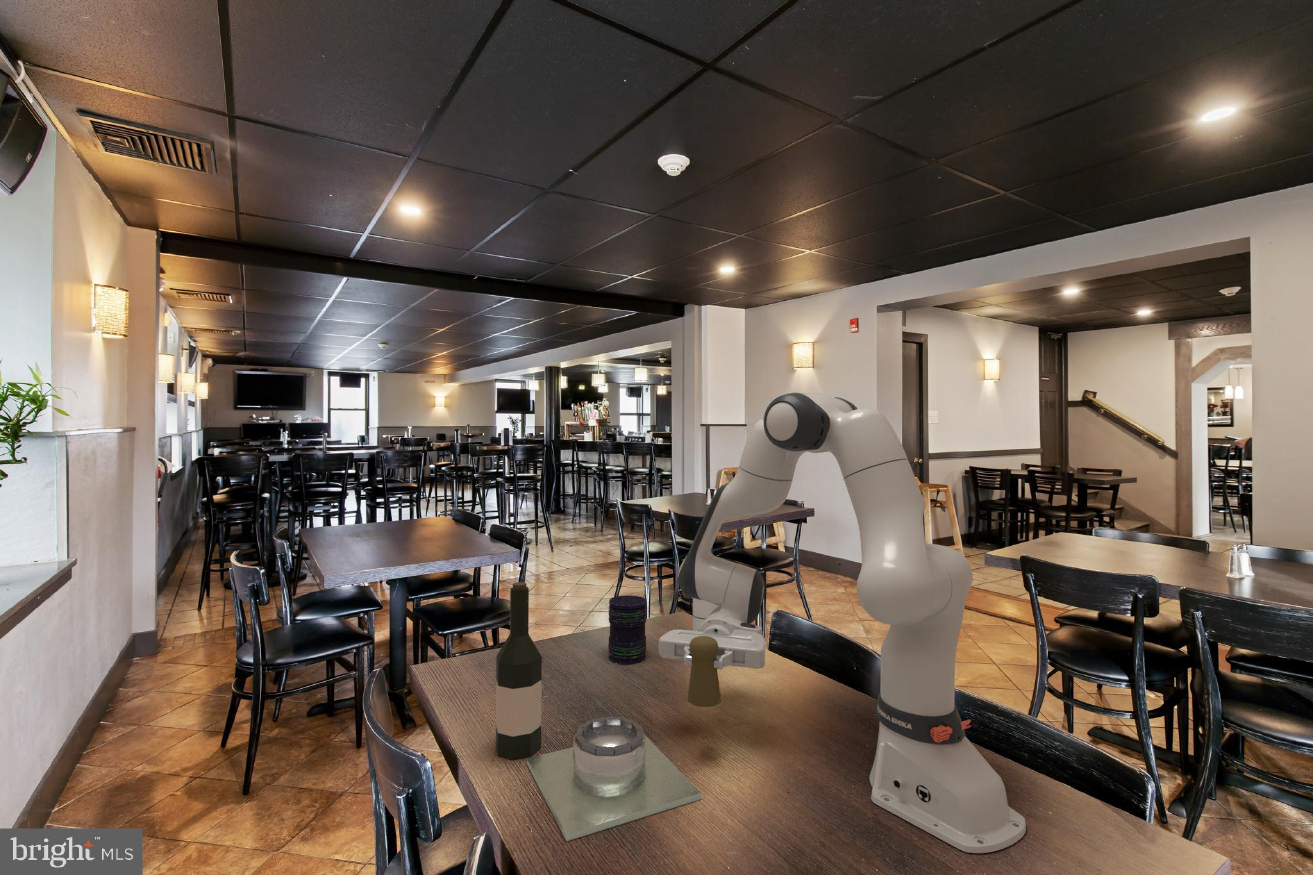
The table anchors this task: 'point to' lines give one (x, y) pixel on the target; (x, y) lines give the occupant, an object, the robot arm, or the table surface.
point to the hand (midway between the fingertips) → (702, 663)
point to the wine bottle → (518, 684)
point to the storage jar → (627, 629)
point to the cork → (704, 673)
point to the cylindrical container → (701, 612)
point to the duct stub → (608, 778)
